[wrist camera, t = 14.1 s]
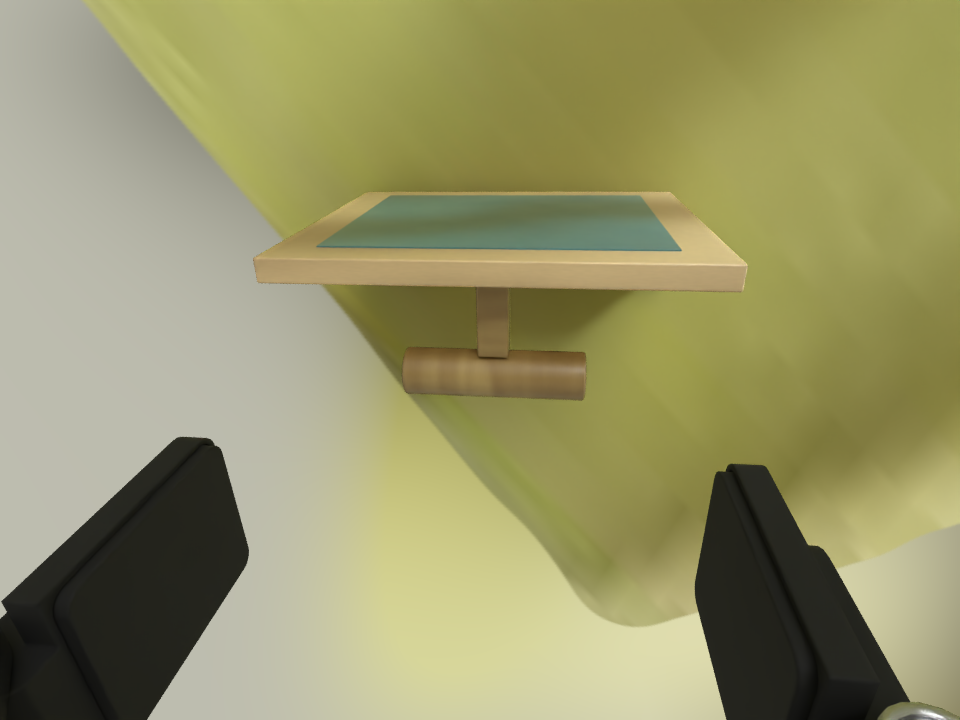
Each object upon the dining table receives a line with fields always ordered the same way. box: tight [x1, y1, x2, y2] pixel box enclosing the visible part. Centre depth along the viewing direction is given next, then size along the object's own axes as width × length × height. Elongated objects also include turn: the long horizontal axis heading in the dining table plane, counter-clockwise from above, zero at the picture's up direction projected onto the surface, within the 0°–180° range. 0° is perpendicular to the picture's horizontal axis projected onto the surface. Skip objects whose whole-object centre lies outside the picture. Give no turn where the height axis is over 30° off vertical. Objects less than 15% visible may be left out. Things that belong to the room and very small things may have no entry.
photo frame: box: [253, 192, 748, 401], centre depth 22 cm, size 12×14×5 cm
